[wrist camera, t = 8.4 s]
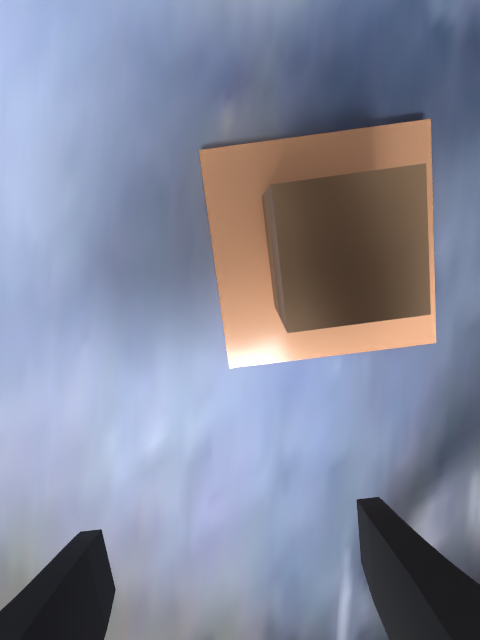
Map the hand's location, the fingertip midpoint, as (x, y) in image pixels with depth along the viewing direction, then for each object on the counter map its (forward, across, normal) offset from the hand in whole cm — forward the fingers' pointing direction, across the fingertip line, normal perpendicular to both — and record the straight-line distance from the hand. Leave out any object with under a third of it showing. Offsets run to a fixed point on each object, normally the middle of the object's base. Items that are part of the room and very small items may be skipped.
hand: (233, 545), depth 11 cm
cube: (+9, -5, -7) cm, 13 cm away
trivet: (+10, -5, -7) cm, 13 cm away
